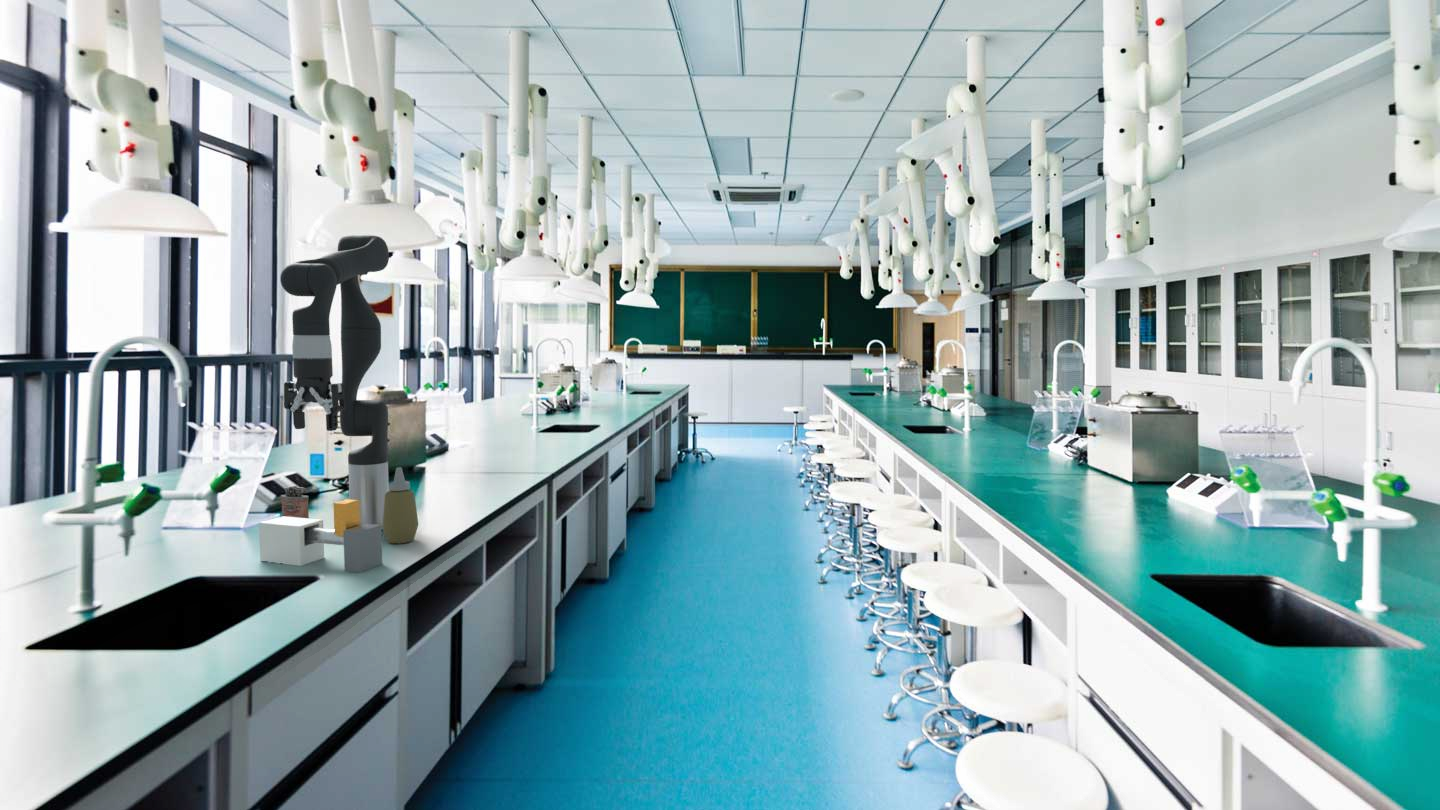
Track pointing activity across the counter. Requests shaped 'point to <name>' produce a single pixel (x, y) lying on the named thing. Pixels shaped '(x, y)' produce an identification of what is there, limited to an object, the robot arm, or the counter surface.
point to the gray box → (362, 547)
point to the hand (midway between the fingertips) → (315, 429)
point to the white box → (289, 541)
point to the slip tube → (336, 524)
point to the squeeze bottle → (399, 511)
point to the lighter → (295, 502)
